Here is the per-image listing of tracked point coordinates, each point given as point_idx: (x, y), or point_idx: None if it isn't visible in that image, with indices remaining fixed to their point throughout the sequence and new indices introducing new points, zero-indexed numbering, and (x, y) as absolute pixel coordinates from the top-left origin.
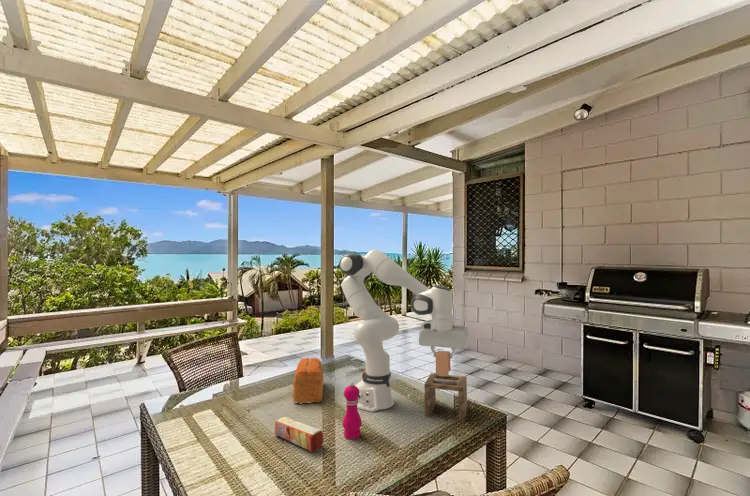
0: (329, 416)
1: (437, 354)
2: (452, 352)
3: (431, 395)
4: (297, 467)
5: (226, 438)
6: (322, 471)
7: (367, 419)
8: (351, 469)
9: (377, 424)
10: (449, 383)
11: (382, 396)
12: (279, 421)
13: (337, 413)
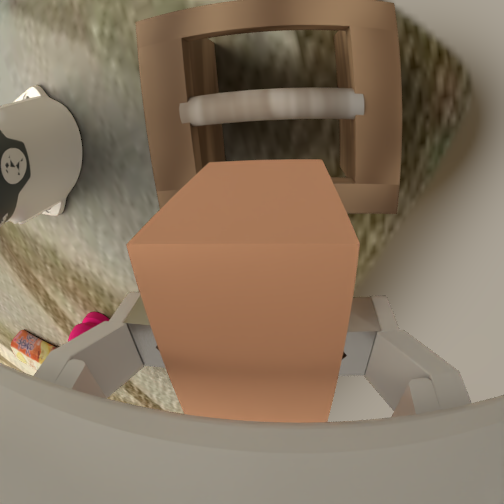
0: (20, 267)
1: (200, 408)
2: (394, 399)
3: (204, 138)
4: (111, 399)
5: (6, 352)
6: (143, 404)
7: (77, 255)
8: (173, 400)
9: (111, 271)
10: (298, 118)
11: (45, 193)
12: (21, 361)
13: (19, 249)
